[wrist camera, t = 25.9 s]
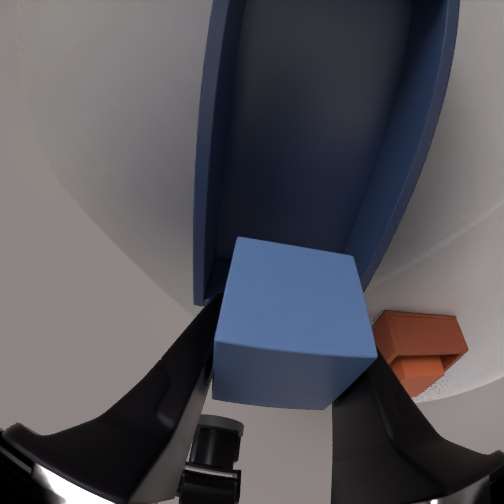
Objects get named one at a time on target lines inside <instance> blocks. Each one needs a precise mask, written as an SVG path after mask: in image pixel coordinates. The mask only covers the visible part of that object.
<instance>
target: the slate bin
mask: <svg viewBox="0 0 504 504" xmlns="http://www.w3.org/2000/svg"><path fill="white" fill-rule="evenodd" d="M459 6H460V0H213V5H212V11H211V17H210V23H209V30H208V37H207V44H206V51H205V59H204V67H203V76H202V85H201V95H200V105H199V117H198V130H197V144H196V161H195V182H194V212H193V295H194V305H198V306H204V307H205V306H206V305H207V303H208V302H209V301H210V300H211V299H212V297H213V296H214V295H215V294H216V293H217V292H223V293H224V292H225V288H226V283H227V279H228V274H229V270H230V266H231V261H232V257H233V252H234V248H235V244H236V239H237V237H245V238H251V239H257V240H263V241H269V242H275V243H281V244H287V245H293V246H298V247H304V248H310V249H316V250H322V251H327V252H333V253H339V254H344V255H350V256H353V258H354V261H355V265H356V268H357V272H358V275H359V279H360V283H361V286H362V290H363V293H364V291H365V290H366V288H367V286H368V284H369V282H370V281H371V279H372V277H373V275H374V273H375V271H376V270H377V268H378V266H379V264H380V262H381V260H382V258H383V256H384V254H385V252H386V250H387V248H388V246H389V244H390V242H391V240H392V238H393V236H394V234H395V232H396V230H397V228H398V225H399V223H400V221H401V219H402V217H403V214H404V212H405V210H406V208H407V205H408V203H409V201H410V198H411V196H412V193H413V191H414V188H415V186H416V183H417V181H418V178H419V176H420V173H421V170H422V168H423V165H424V162H425V160H426V157H427V154H428V151H429V148H430V145H431V142H432V139H433V136H434V133H435V129H436V126H437V123H438V119H439V116H440V112H441V109H442V105H443V101H444V97H445V93H446V89H447V85H448V80H449V76H450V71H451V66H452V61H453V55H454V49H455V43H456V36H457V28H458V18H459Z"/></svg>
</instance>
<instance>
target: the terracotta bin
mask: <svg viewBox="0 0 504 504" xmlns="http://www.w3.org/2000/svg"><path fill="white" fill-rule="evenodd" d="M372 331H373V336H374V341H375V345H376V346H377V348H378V349H379V351H380V352H381V353H382V355H383V356H384V358H385V359H386V361H387V362H388V364H390V363H391V362H392V361H393V360H394V358H395V357H396V356H397V355H439V356H440V359H441V363H442V366H443V370H444V372H445V371H446V370H447V369H448V368H450V367H451V366H452V365H453V364H454V363H455V362H456V361H457V360H458V359H460V358H461V357H462V356H463V355H464V354H465V353H466V352H467V351H468V347H467V344H466V342H465V339H464V336H463V334H462V331H461V329H460V326H459V324H458V322H457V319H456V317H455V316H441V315H428V314H416V313H405V312H395V311H384V312H383V314H382V315H381V316H380V318H379V319H378V321H377V322H376V324H375V325H374V326H373V328H372Z"/></svg>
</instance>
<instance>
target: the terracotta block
mask: <svg viewBox="0 0 504 504" xmlns="http://www.w3.org/2000/svg"><path fill="white" fill-rule="evenodd" d="M389 365H390V367H391V368H392V370H393V371H394V373H395V375H396V376H397V378H398V379H399V381H400V383H401V384H402V385H403V387H404V388H405V390H406V391H407V393H408V394H409V396H410V397H416V396H418V395H419V394H420V393H422V392H423V391H424V390H426V389H427V388H428V387H430V386H431V385H432V384H433V383H435V382H436V381H437V380H438V379H440V378H441V377H442V376H443V375H444V374H445V373H444V370H443V366H442V363H441V359H440V356H439V355H397V356H396V357H395V358H394V360H393V361H392V362H391V363H390V364H389Z"/></svg>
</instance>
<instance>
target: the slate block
mask: <svg viewBox="0 0 504 504" xmlns="http://www.w3.org/2000/svg"><path fill="white" fill-rule="evenodd" d="M376 358H377V351H376V346H375V341H374V336H373V331H372V327H371V323H370V318H369V314H368V310H367V306H366V302H365V298H364V294H363V290H362V286H361V283H360V279H359V275H358V272H357V268H356V265H355V261H354V258H353V256H350V255H344V254H339V253H333V252H327V251H322V250H316V249H310V248H304V247H298V246H293V245H287V244H281V243H275V242H269V241H263V240H257V239H251V238H245V237H237V239H236V244H235V248H234V252H233V257H232V261H231V266H230V270H229V274H228V279H227V283H226V288H225V292H224V297H223V301H222V306H221V310H220V315H219V320H218V324H217V329H216V333H215V338H214V355H213V377H212V399H215V400H221V401H226V402H233V403H240V404H248V405H256V406H265V407H275V408H288V409H306V410H324V409H325V408H326V407H328V406H329V405H330V404H331V403H332V402H333V401H334V400H335V399H336V398H338V397H339V396H340V395H341V394H342V393H343V392H344V391H345V390H346V389H347V388H348V387H349V386H350V385H351V384H352V383H353V382H354V381H355V380H356V379H357V378H358V377H359V376H360V375H361V374H362V373H363V372H364V371H365V370H366V369H367V368H368V367H369V366H370V365H371V364H372V363H373V362H374V360H375V359H376Z"/></svg>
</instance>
